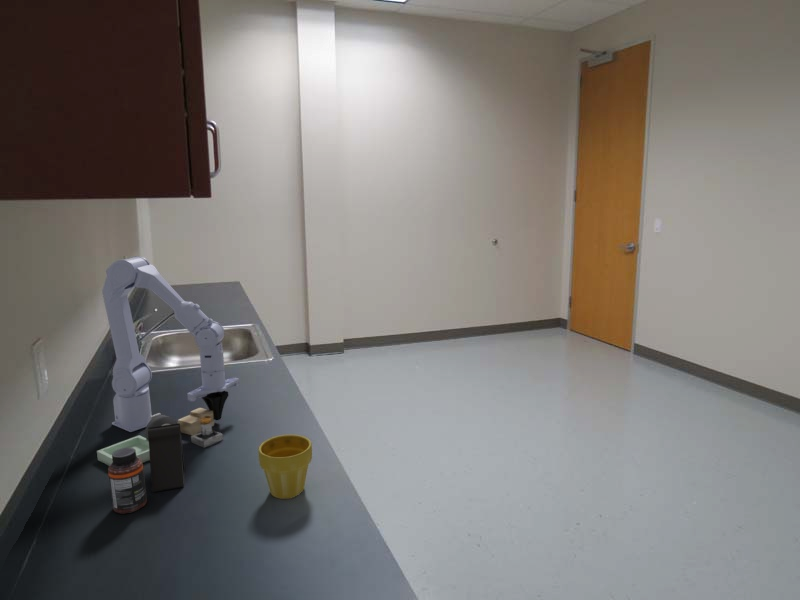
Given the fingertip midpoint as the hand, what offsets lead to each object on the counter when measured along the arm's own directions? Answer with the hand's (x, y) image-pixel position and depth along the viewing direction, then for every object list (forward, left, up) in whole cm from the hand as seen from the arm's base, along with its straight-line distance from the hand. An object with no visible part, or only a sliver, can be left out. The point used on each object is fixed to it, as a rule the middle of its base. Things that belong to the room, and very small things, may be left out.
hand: (216, 418), depth 142 cm
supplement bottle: (+20, -34, -1) cm, 40 cm away
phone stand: (+17, -24, -1) cm, 30 cm away
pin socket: (+8, -8, -1) cm, 11 cm away
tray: (0, -23, -1) cm, 23 cm away
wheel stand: (0, -15, -1) cm, 15 cm away
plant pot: (+41, -13, -1) cm, 43 cm away
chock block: (-1, -5, -1) cm, 5 cm away
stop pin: (+8, -8, -1) cm, 11 cm away
